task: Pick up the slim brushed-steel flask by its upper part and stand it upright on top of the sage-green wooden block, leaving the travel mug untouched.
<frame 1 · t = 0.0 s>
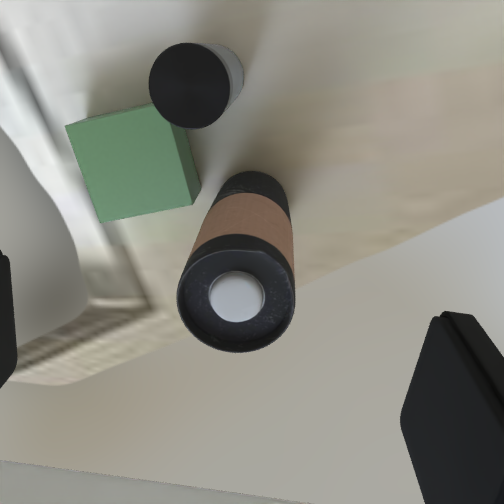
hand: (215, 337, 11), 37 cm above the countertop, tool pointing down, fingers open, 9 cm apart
green block: (145, 154, 46), on the countertop
steel flask: (214, 76, 43), on the countertop
travel mug: (252, 204, 48), on the countertop
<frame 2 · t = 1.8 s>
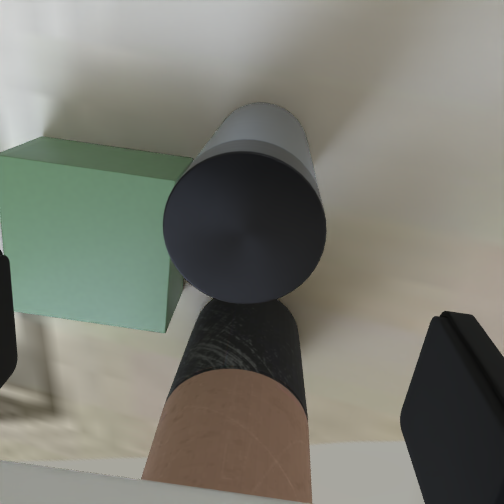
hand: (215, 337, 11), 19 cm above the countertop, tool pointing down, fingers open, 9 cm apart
green block: (116, 218, 30), on the countertop
steel flask: (260, 151, 27), on the countertop
travel mug: (246, 333, 33), on the countertop
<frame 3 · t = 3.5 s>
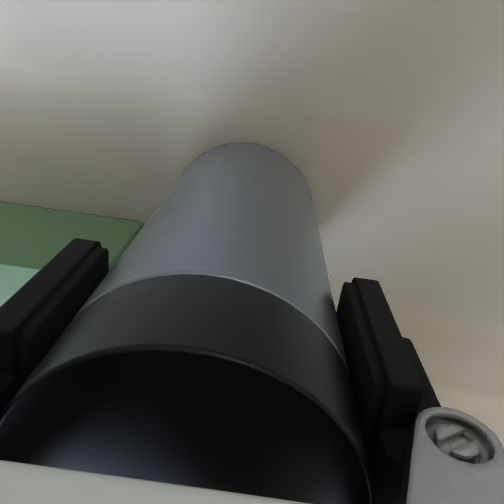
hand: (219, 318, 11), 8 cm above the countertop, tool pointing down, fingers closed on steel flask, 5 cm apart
green block: (37, 303, 21), on the countertop
steel flask: (243, 212, 18), on the countertop, touching gripper
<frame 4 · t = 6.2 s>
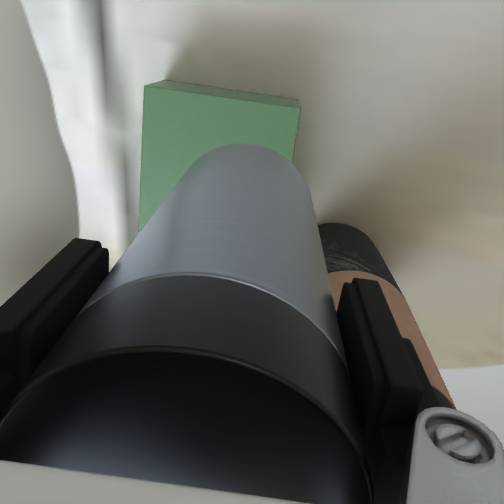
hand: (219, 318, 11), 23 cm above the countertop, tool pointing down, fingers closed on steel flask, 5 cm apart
green block: (223, 156, 33), on the countertop
steel flask: (243, 212, 18), point 16 cm above the countertop, touching gripper
travel mug: (331, 265, 36), on the countertop
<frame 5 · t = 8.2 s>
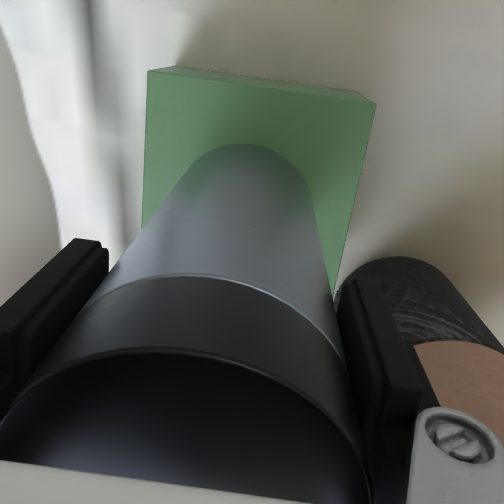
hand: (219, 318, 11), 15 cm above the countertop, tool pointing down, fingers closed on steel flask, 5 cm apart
green block: (253, 169, 25), on the countertop
steel flask: (243, 213, 18), point 7 cm above the countertop, touching gripper
travel mug: (392, 309, 28), on the countertop
when the fingers open (13 cm above the countertop, at t = 9.2 s): steel flask stays where it is, resting on green block.
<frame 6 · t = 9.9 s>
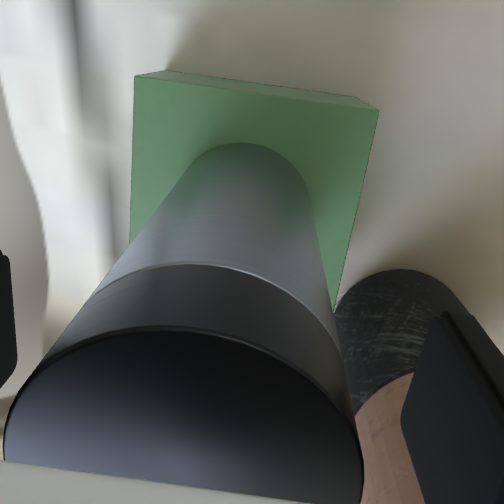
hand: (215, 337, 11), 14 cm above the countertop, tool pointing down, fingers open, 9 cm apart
green block: (249, 178, 24), on the countertop
steel flask: (242, 210, 19), point 5 cm above the countertop, touching green block
travel mug: (394, 324, 27), on the countertop
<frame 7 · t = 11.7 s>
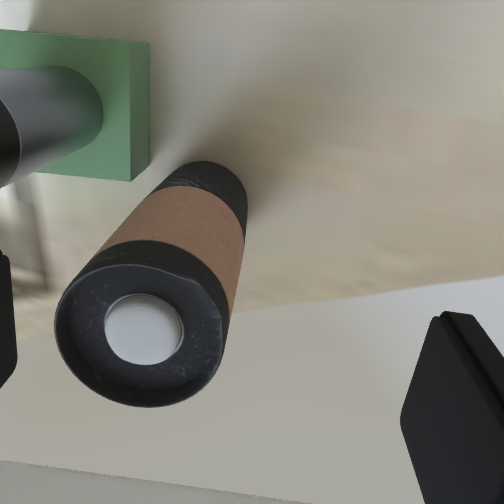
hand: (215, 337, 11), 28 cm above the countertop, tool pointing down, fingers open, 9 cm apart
green block: (90, 101, 36), on the countertop
steel flask: (63, 109, 32), point 5 cm above the countertop, touching green block
travel mug: (204, 202, 39), on the countertop
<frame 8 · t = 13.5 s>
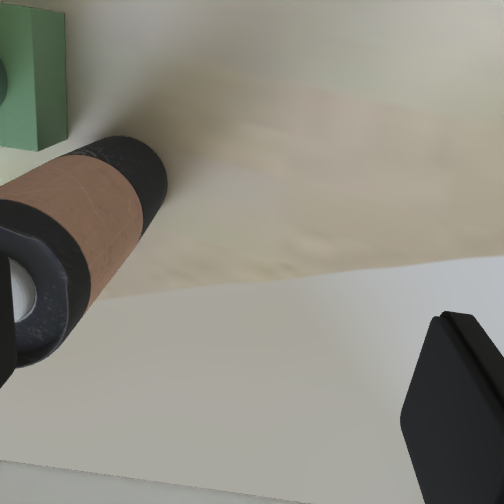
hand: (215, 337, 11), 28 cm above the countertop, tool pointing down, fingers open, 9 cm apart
green block: (6, 70, 36), on the countertop
travel mug: (125, 179, 39), on the countertop
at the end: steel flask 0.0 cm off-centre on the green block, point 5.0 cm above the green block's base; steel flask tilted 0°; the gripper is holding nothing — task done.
